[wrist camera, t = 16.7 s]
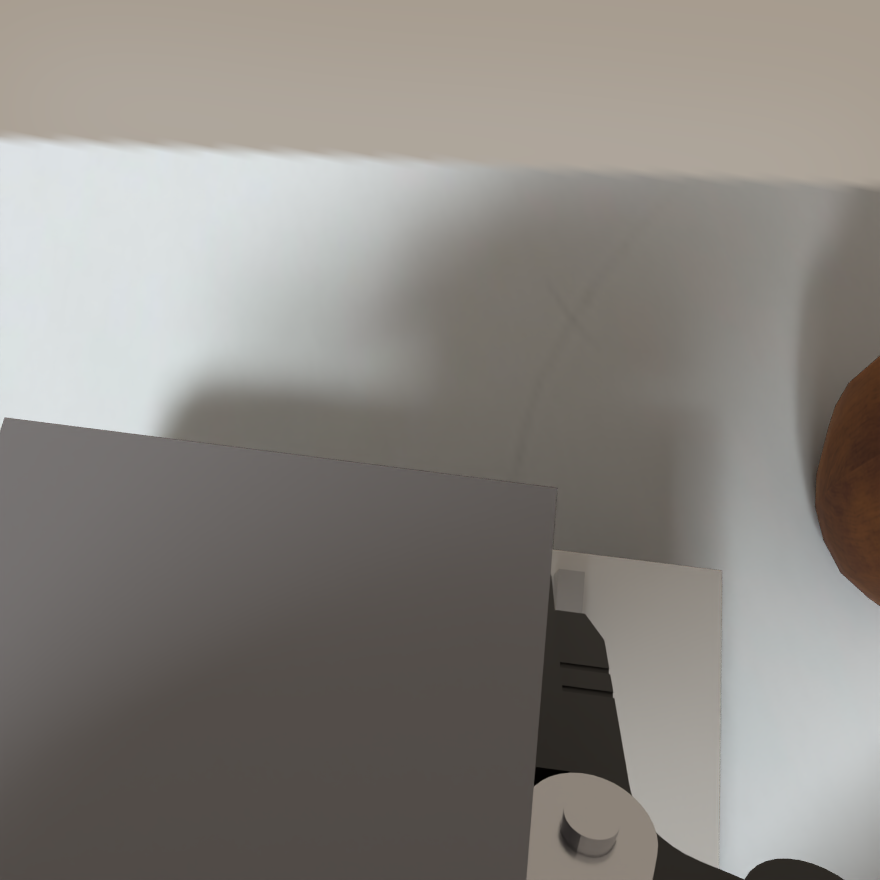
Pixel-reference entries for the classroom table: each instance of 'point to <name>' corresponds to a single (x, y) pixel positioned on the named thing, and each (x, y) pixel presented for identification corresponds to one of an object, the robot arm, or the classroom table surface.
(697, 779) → the socket
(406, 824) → the plug
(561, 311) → the classroom table surface
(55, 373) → the classroom table surface
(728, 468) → the classroom table surface
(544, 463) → the classroom table surface
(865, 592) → the wooden figurine
